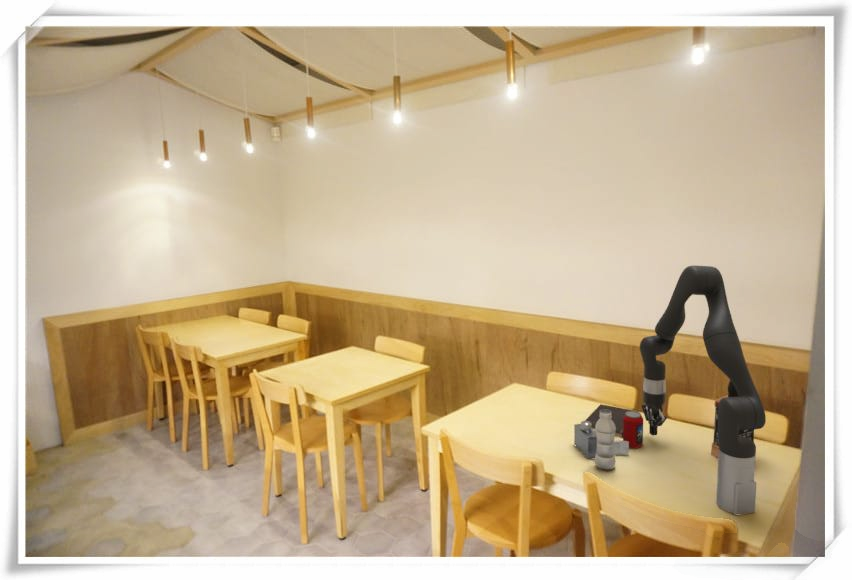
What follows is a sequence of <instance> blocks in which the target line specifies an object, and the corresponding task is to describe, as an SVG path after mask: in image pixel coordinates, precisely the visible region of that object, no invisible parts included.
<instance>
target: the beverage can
mask: <svg viewBox="0 0 852 580" xmlns="http://www.w3.org/2000/svg"><path fill="white" fill-rule="evenodd" d="M636 411H637V410H634V411H628V412H626V413H625V415H624V417H623V438H622V440H623V441H629V448H631V449H637V448H640V447H642V446H643V442H644V417H643V416H642V413H641V412H640V411H638V412H636Z"/></svg>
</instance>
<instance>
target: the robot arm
mask: <svg viewBox="0 0 852 580" xmlns="http://www.w3.org/2000/svg"><path fill="white" fill-rule="evenodd" d="M693 295H694V296H695V295H696V296H704V297H705V299H706V300H705V301H706V302H707V307H708V308H707V309H708V314H707V318H706V321H705V324H704V327H703V330H702V339H703V343H704V347H705V350H706V353H707V355H708V358H709V359H710V361H711V362H712V363H713V364H714V365H715V366H716V367H717V368H718V369H719V370H720V371H721V372H722V373H723V374H724V375H725V376H726V377H727V378H728V379H729V381H730V380H731V381H732V383H733V384H734V386H735V388H736V390H737V393H738V395H739V397H726V398H722V399H721V400H720V401H719V404H718V410H717V418H718V440H719V455H718V458H717V475H716V477H717V479H716V499H715V501H716V505H717V506H718V507H719V508H720V509H721V510H723V511H725V512H728V513H730V512H731V514H733V513H734V514H735V515H734V514H733V515H734V516H738V515H737V514H742V515H745V514H744V513H748V514H751V513H750V512H754V513H755V512H756V501H757V500H756V496H757V484H758V483H757V481H755V469H756V467H755V466H756V457H757V456H756V455H757V445H756V443H755V442H753V441H751V440H750V439H748V438H745V437H743V436H739V435H738V430H753V429H754V430H760V429H763V428H764V426H765V425H766V421H767V420H766V419H767V418H766V416H767V415H766V411H765V409H764V408H765V407H764V404H763V402H762V399H761V397H760V395H759V393H758V390H757V388H756V386H755V383H754V380H753V379H752V376H751V374H750V370H749V368H748V365H747V361H746V359H745V356H744V352H743V349H742V346H741V342H740V339H739V335H738V331H737V330H736V326H735V324H734V321H733V317H732V314H731V311H730V306H729V302H728V297H727V294H726V287H725V283H724V278H723V275H722V273H721V272H720V270H719V268H717V267H715V266H711V265H710V266H709V265H689V266H686V267H685V268H684V269H683V271H682V272H681V273H680V276H679V278H678V280H677V282H676V285H675V288H674V290H673V292H672V294H671V298H670V299H669V302H668V305H667V307H666V309H665V310H664V312H663V314H662V316H661V317H660V318H659V320H658V322H657V323H656V325H655V326H654V331H655V332H654V333H655V335H650V336H645V337H643V338H642V339H641V341H640V342H639V351H640V356H641V359H642V362H643V366H644V368H643V369H644V370H643V375H644V376H643V382H642V384H643V385H642V401H643V402H644V404H642V405H641V408H642V412H643V415H644V418H645V421H647V424H649V428H648V429H649V435H651V436H657V435H658V427H662V425H663V424H664V423H665V422H666V420H667V416H666V415H664V413H663V411H664V410H663V405H664V404H665V403H666V397H667V396H666V395H667V392H666V391H667V385H666V384H667V382H666V368H667V367H666V364H665V363H664V362H663V361H661V360H657V356H660V355H665V354H667V353H669V352H670V351H671V350H672V348H673V346H674V342H675V339H676V335H677V334H678V333H679V331H680V330H681V328H682V327H683V326H684V323H685V321H686V308H685V305H686V303H687V301H688V300H689V298H691V296H693Z"/></svg>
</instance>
